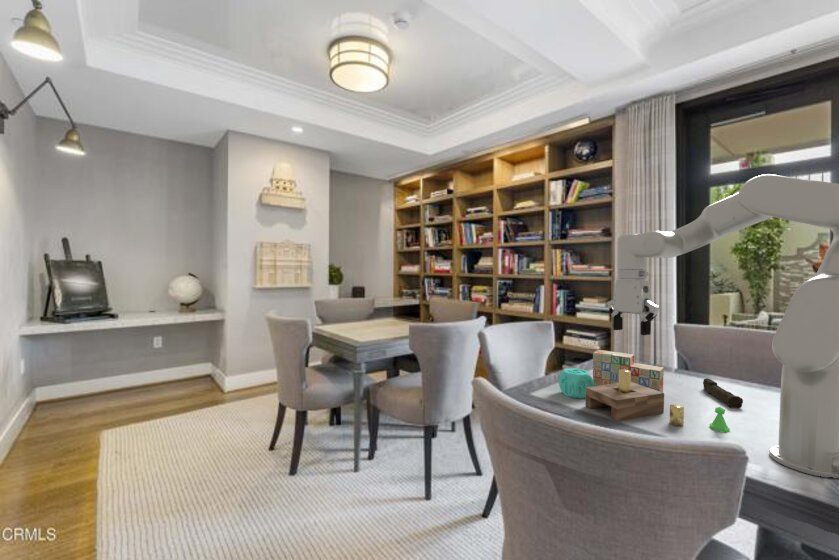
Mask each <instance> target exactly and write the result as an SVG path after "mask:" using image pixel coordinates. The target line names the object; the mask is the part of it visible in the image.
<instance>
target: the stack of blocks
mask: <svg viewBox="0 0 839 560" xmlns="http://www.w3.org/2000/svg"><path fill="white" fill-rule="evenodd" d="M620 369H625V370H629V371H631V382H633V383H636V384H639V385H642V386H645V387H648V388H651V389H654V390H657V391H660V392H663V393H664V372H665V371H664V370H665V369H664V366H656V365H650V364H645V363H638V362H637V363H636V362H635V354H632V353H625V352H619V351H618V352H616V351H609V350H604V349H603V350H602V349H598V350H595V351H594V352H593V353H592V379H593V382H594V386H596V385H597V386H600V385H607V384H615V383H619V370H620Z"/></svg>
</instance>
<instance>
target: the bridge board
mask: <svg viewBox="0 0 839 560" xmlns="http://www.w3.org/2000/svg"><path fill="white" fill-rule="evenodd" d="M618 386H619V383H615V384H607V385H600V386H596V385H594V386H592V387H586V398H585V407H586V408H587V409H590V410H591V409H597V408H603V407H611V408H610V409H611V410H610V411H611V414H610V419H611V418H612V419H611V420H613V419H614V421H615V420H616V421H615V422H620V421H619V420H621V421H626V420H631V419H636V418H638V419H639V418H643V417H647V416H648V417H649V416H654V415H659V414H664V413H665V392H664V391H663V392H660V391H657V390H654V389H651V388H648V387H645V386H642V385H639V384H636V383H633V382H631V384H630V393H622V392H619V391H618Z"/></svg>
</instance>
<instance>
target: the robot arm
mask: <svg viewBox="0 0 839 560" xmlns="http://www.w3.org/2000/svg"><path fill="white" fill-rule="evenodd" d="M772 218H777V219H782V220H786V221H789V222H790V221H791V222H796V223H801V224H804V225H809V226H810V225H811V226H815V227H818V228H819V227H820V228H824V229H829V230H830V231H831V232H832V234H833V237H832V240H831V243H830V245H829V247H828V249H826V252H825V254H824V256H823V259H822V262H821V263H820V265H819V268H818V270H817V272H816V273H815V275H814V276H813V277H812V278H809V279H808V280H806V281H804V282H803V283H802V284H800V285H799V286H797V289H796V290H795V292H794V293H793V294H792V296H791V299H790V301H789V303H788V305H787V307H786V309H785V312H784V314H783V316H782V318H781V320H780V322H779V323H778V326H777V328H776V330H775V333H774V335H773V338H772V341H771V342H772V343H771V350H772V352H773V355H774V357H775V358H776V359H777V361H778V362H780V363H781V364H782V368H781V378H780V380H781V381H780V395H779V396H780V397H779V423H778V426H779V427H778V445H773V446H771V447H769V449H768V452H769V456H770V458H772V459H773V460H774V461H776V462H778V463H779V464H781V465H782V466H785V467H787V468H789V469H792V470H795V471H797V472H800V473H805V474H808V475H811V476H815V477H820V476H821V478H827V477H833V478H832V479H839V183H838V182H837V183H835V182H828V181H822V180H813V179H807V178H806V179H805V178H797V177H791V176H785V175H777V174H770V173H767V174H761V175H758V176H754V177H752V178H750V179H749V180H747V181H745V183H743V184H742V186H741V187H740V189H739V191H738V192H736V193H734V194H733V195H730V196H727V197H726V198H722V199H720V200H719V201H716V202H713V203H712V204H709V205H708V206H706V207H704V209H703V210H702V211H701V214H700V215H699V216H698V217H697V218H696V219H695V220H693V221H691V222H690V223H688V224H687V223H686V224H685V225H683V226H681V227H678V228H676V229H673V230H671V231H666V230H665V231H664V230H650V231H646V232H642V233H624V234H621V235H619V236H618V238H617V274H616V275H617V279H616V280H615V285H614V292H613V299H611V300H609V301H607V303H606V305H607V308H608V312H609V313H610V315H611V317H612V318H613V319H612V321H613V322H612V327H613V329H612V330H613V331H622V330H623V329H624V327H623V325H624V323H623V321H624V320H623V314H631V315H632V314H634V315H638V316H639V317H640V318H641V320H640V335H641V336H648V335H651V334H652V333H651V331H652V326H651V325H652V321H654V319H655V318H656V317H657V316H658V315H657V314H658V312H659V311H660V307H659V305H657V304H655V303H654V302H653V299H652V290H651V286H650V285H651V284H650V281H649V280H648V279H647V277H648V276H649V272H648V271H647V258H651V259H652V258H653V259H659V258H662V259H663V258H664V259H671V258H675V257H678V256H681V255H684V254H687V253H689V252H692V251H695V250H698V249H699V248H702V247H704V246H707V245H708V244H710V243H711V244H712V242H714V241H717V240H720V239H721V238H723V237H725V236H728V235H729V234H732V233H735V232H738V231H740V230H743V229H745V228H748V227H752V226H754V225H756V224H758V223H761V222H764V221H767V220H768V219H772Z"/></svg>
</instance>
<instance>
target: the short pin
mask: <svg viewBox="0 0 839 560" xmlns="http://www.w3.org/2000/svg"><path fill="white" fill-rule="evenodd" d="M684 415H685V407H684V406H683V405H680V404H676V403H675V404H674V403H672V404H670V405H669V424H670V425H672V426H675V427H684V423H685V421H684V419H685V418H684V417H685V416H684Z"/></svg>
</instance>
